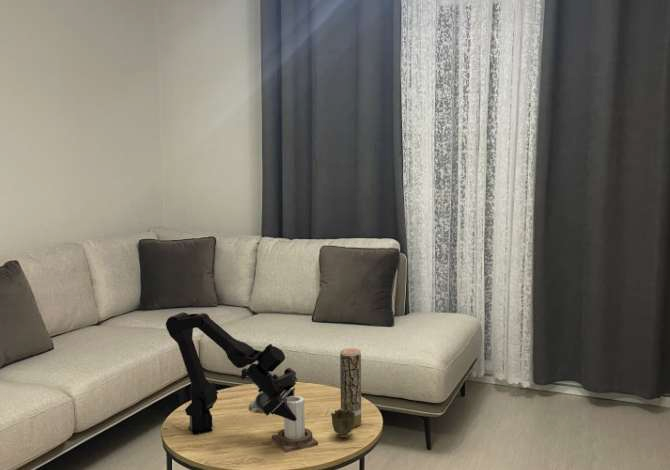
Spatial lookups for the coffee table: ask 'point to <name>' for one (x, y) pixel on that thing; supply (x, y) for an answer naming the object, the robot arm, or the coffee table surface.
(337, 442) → the coffee table surface
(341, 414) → the cup
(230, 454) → the coffee table surface
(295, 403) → the tube
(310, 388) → the coffee table surface
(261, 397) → the ceramic mug
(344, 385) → the paper tube
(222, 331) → the robot arm
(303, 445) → the holder
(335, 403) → the coffee table surface
